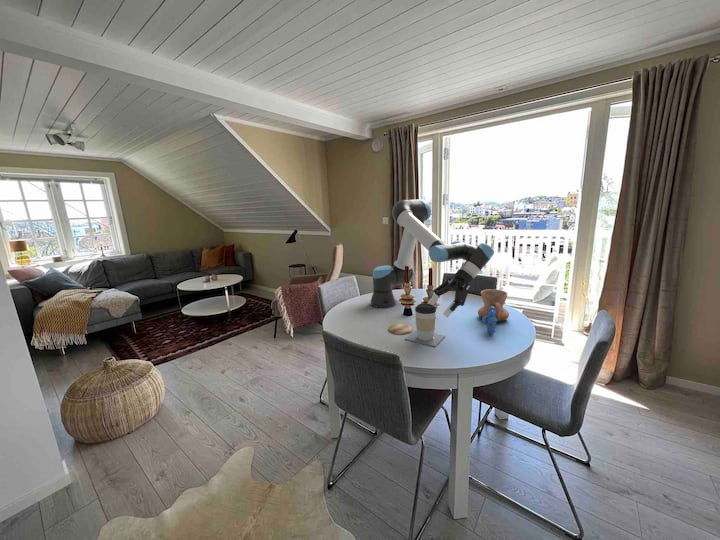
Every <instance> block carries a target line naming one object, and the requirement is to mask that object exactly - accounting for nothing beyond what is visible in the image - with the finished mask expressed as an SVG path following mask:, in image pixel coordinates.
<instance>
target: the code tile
mask: <svg viewBox="0 0 720 540" xmlns="http://www.w3.org/2000/svg"><path fill="white" fill-rule="evenodd" d="M445 338H446V335H443V334H438V333H435V332H434V335H433V339H432V340H421V339H419V338H418V337H417V329H415V330H414V331H413V332H411V333H409V334H408V336H406V337H405V338H404V340H405V341H409V342H412V343H418V344H421V345H425V346H429V347H433V348H436V347H437V346H439V344H440V343H441V342H442V341H443V340H444V339H445Z"/></svg>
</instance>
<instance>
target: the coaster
mask: <svg viewBox="0 0 720 540" xmlns="http://www.w3.org/2000/svg"><path fill="white" fill-rule="evenodd" d="M388 331H389V333H391V334H395V335H407V334H408V335H409V334H411V333H413V332H412V331H413V327H412V326H411V325H410V324H406V323H396V324H395V323H394V324H392V325H390V326H389V327H388Z"/></svg>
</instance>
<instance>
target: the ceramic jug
mask: <svg viewBox="0 0 720 540" xmlns="http://www.w3.org/2000/svg"><path fill="white" fill-rule="evenodd" d="M480 295H481V299H482V302H483V304H484V305H482V306H481V307H480V308H478V310H477V314H478V316H479V317H480V318H481V319H482V318H483V317H484V316H487V315H488V313H489V311H488V309H489V308H490V307H491V306H493V307H494V308H495V309H496V315H495V316H496V317H495V318H496V319H497V320H498V321H497V322H503V321H506V320H507V319H508V318H509V317H510V312H509V311H508V310H507V309H506V308H505V307H503V306H504V305H505V303H506V300H507V298H508V292H507V291H504V290H502V289H491V288H490V289H484V290H482V291H480Z"/></svg>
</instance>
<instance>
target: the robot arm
mask: <svg viewBox="0 0 720 540" xmlns="http://www.w3.org/2000/svg"><path fill="white" fill-rule="evenodd" d="M391 215H392V218H393V220H394V222H395V223H396V224H397V225H398V226H400V227H403V228H404V229H403V232H402V237H401V241H400V247H399V249H398V255H397V260H395V261H394V262H393V266H391V265H386V264H385V265H380V266H376V267H374V269H373V270H372V289H373V290H372V295H371V300H370V305H371V304H372V305H374V306H377V307H388V308H390V307H389V306H392V307H394V306H395V305H396V298H395V296H394V292H393V287H395V286H400V285H405V284H404V281H405V280H404V276H405V266H409V282H410V283H411V282H412V281H413V280H414V278H415V269H414V267H413V264H412V260H413V257H414V252H415V249H416V244H417V242H418V243H420V245H422V246H423V247H424V248H425V249H426V250H427V251H428V256H429V259H430V260H431V262H434V263H445V262H449V261H455V260H464V263H463V264H462V265H461V266H460V267H459V268H460V269H458V270H457V271H456V272H455V274H454V278H453V279H452V278H451V277H448V278H447V279H446V281H444V282H442V283H441V284H440V285H439V286H437V287H436V288H434V289H433V292H434V294H433V295H432V296H431V297H430V299H429V300H428V302H427V303H426V304H431V305H433V306H435V304H436V303H437V302H438V300H439V299H440V297H441V296H442V295H445V294H446V293H448V292H452V291H453V292H454V300H453V301H451V303H450V304H449V305H448V306H447V308H446V309H445V310H444V311H443V313H442V315H443V316H444V317H446V318H448V319H449V317H450V316H451V315H452V313H453V312H454V311H455V310H456V309H457V308H458V307H460V306H461V307H463V306H464V305H465V302H466V300H467V296H468V294H469V291H471V288H472V287H471V286H470V285H471V283H473V281H474V279H475V278H476V277H477V276H478V274H480V272H481V271H482V270H483V269H484V267H485V266H486V265H487V264H488V262H489V261H490V260H491V259H492V257H493V256H494V255H495V251H494V249H493V248H492V246H491V245H489V244H487V243H486V242H482V243H479V244H478V245H477V246H476V245H473V244H469V243H466V242H465V241H463V240H462V241H461V240H458V239H457V240H454V241H453V242H451V243H445V242H444V241H443V240H442V239H441V238H440V237H438V236H437V235H436V234H435V233H434V232H433V231H432V230H430V229H429V228H428V227H427V226H426V225H425V221H428V220H429V219H430V217H431V215H432V208H431V205H430V203H429V202H428V201H426V199H420V198H419V199H418V198H417V199H402V200H398V201H397V202H396V203H395V204H394V205H393V207H392V210H391ZM372 305H371V306H372ZM393 305H394V306H393ZM377 307H376V308H377Z"/></svg>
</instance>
